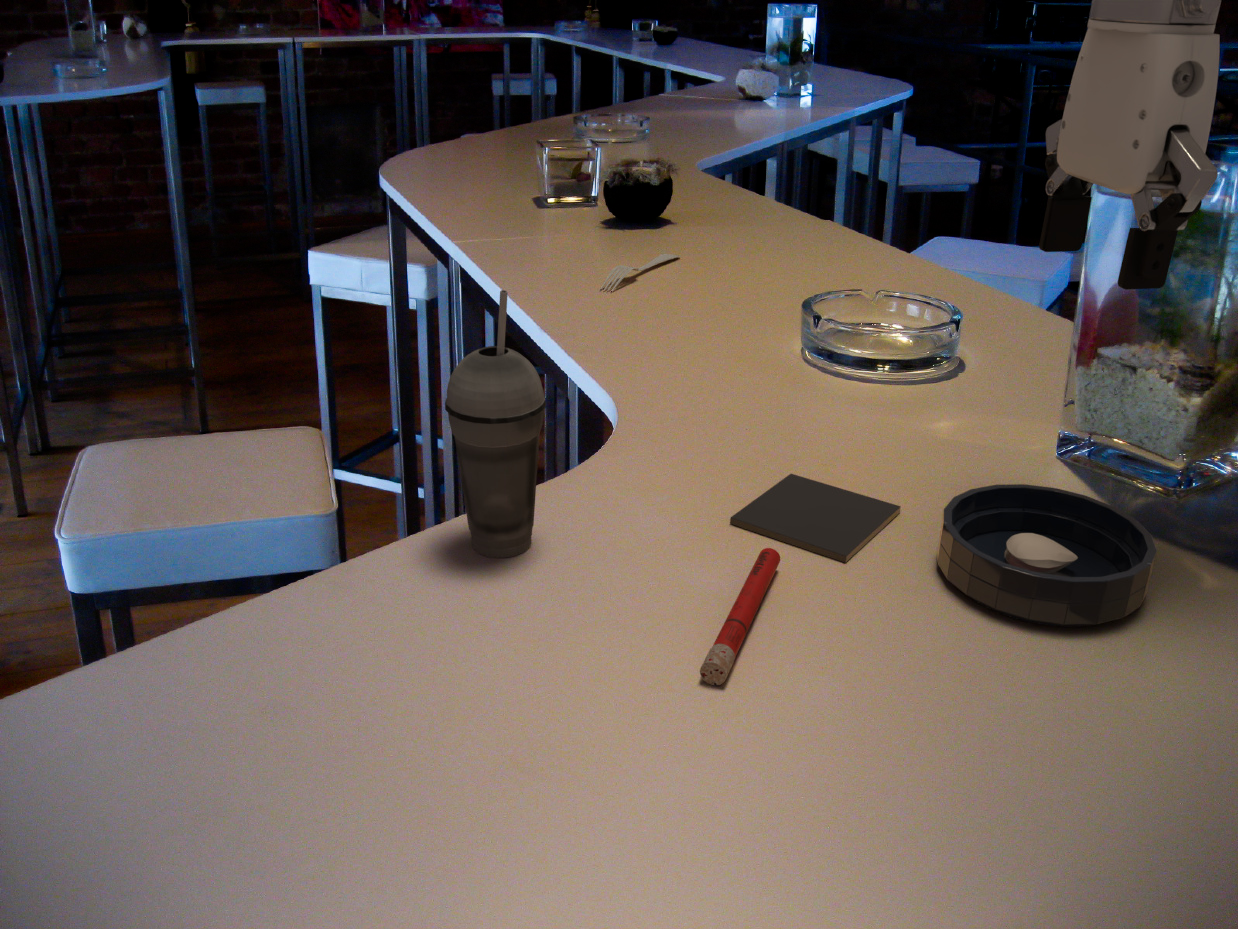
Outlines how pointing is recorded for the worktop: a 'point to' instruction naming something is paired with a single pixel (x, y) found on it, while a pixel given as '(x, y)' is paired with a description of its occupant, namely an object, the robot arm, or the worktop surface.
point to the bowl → (1087, 527)
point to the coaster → (816, 517)
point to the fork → (626, 268)
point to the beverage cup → (497, 442)
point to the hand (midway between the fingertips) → (1097, 268)
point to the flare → (739, 619)
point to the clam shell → (1037, 553)
